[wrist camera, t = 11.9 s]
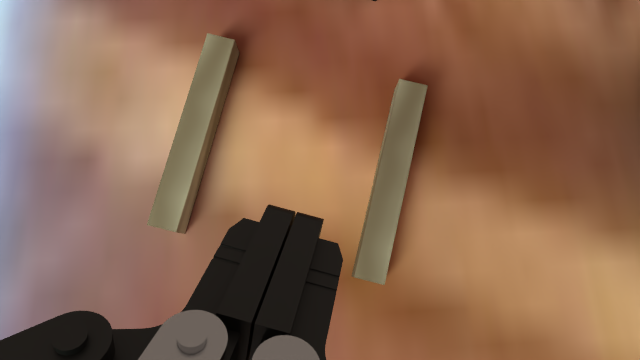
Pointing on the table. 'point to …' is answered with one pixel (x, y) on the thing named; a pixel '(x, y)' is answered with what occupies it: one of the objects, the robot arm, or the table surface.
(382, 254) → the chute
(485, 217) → the table surface
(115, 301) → the table surface
